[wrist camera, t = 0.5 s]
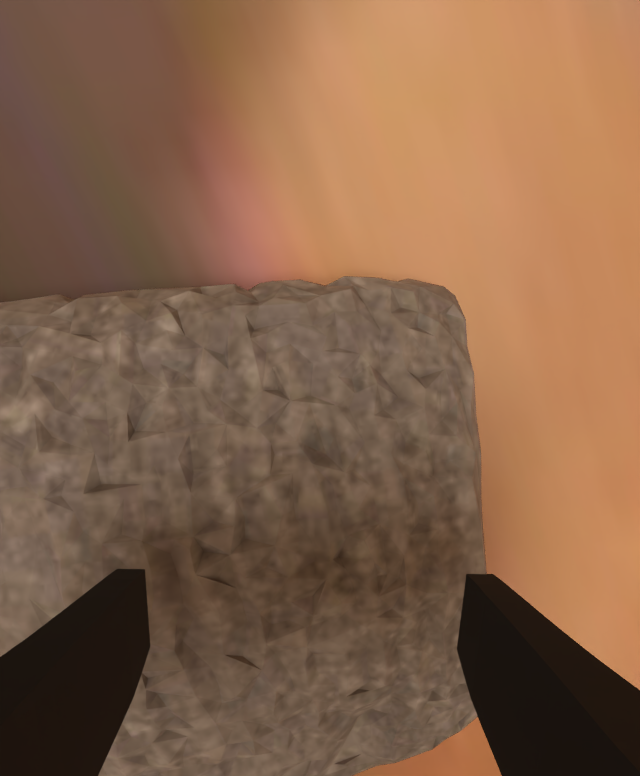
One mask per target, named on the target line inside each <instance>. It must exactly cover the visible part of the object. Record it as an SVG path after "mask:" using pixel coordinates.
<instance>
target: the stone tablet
mask: <svg viewBox="0 0 640 776" xmlns="http://www.w3.org/2000/svg"><path fill="white" fill-rule="evenodd" d="M116 569H145V577H146V591H147V605H148V619H149V634H150V649H149V652H148V656H147V659H146V662H145V665H144V668H143V671H142V674H141V677H140V680H139V683H138V686H137V689H136V692H135V695H134V697H133V700H132V702H131V704H130V707H129V709H128V711H127V713H126V716H125V718H124V720H123V722H122V724H121V727H120V729H119V731H118V733H117V735H116V738H115V740H114V742H113V744H112V746H111V749H110V751H109V753H108V755H107V757H106V760H105V762H104V764H103V766H102V768H101V770H100V773H99V775H98V776H352V775H355V774H357V773H360V772H362V771H365V770H367V769H370V768H372V767H375V766H378V765H385V764H391V763H396V762H399V761H402V760H404V759H407V758H410V757H413V756H415V755H418V754H421V753H423V752H426V751H429V750H432V749H433V748H435V747H436V746H437V745H439V744H440V743H441V742H442V741H444V740H445V739H447V738H449V737H451V736H452V735H454V734H456V733H458V732H459V731H461V730H462V729H463V728H465V727H466V726H467V725H468V724H469V723H471V722H472V721H473V720H474V719H475V718H477V717H478V716H477V713H476V711H475V708H474V705H473V703H472V700H471V697H470V694H469V691H468V687H467V684H466V681H465V677H464V674H463V670H462V667H461V663H460V659H459V656H458V652H457V643H458V636H459V628H460V620H461V612H462V604H463V597H464V589H465V581H466V574H487V573H486V561H485V548H484V536H483V521H482V502H481V449H480V441H479V433H478V425H477V418H476V402H475V384H474V372H473V368H472V364H471V360H470V356H469V352H468V348H467V334H466V319H465V317H464V315H463V313H462V310H461V308H460V306H459V304H458V301H457V299H456V297H455V295H454V294H452V293H451V292H450V291H449V290H447V289H446V288H445V287H443V286H439V285H434V284H430V283H426V282H421V281H417V280H412V279H405V280H402V281H399V282H395V281H391V280H386V279H381V278H373V277H348V276H344V277H342V278H340V279H338V280H336V281H334V282H332V283H331V284H329V285H327V286H323V285H319V284H315V283H311V282H307V281H303V280H286V281H272V282H265V283H259V284H258V285H256V286H255V287H253V288H252V289H250V290H249V291H247V290H245V289H243V288H241V287H239V286H237V285H235V284H227V285H216V286H205V287H187V288H163V289H140V290H126V291H116V292H107V293H98V294H89V295H83V296H81V297H79V298H77V299H75V300H73V299H71V298H68V297H65V296H63V295H60V294H56V295H50V296H44V297H39V298H32V299H25V300H18V301H11V302H0V657H1V656H2V655H4V654H5V653H6V652H8V651H9V650H11V649H12V648H13V647H15V646H16V645H18V644H19V643H20V642H22V641H23V640H25V639H26V638H27V637H29V636H30V635H31V634H33V633H34V632H35V631H37V630H38V629H39V628H41V627H42V626H43V625H45V624H46V623H47V622H48V621H50V620H51V619H52V618H54V617H55V616H56V615H58V614H59V613H60V612H62V611H63V610H64V609H65V608H67V607H68V606H69V605H71V604H72V603H73V602H74V601H76V600H77V599H78V598H80V597H81V596H82V595H83V594H85V593H86V592H87V591H89V590H90V589H91V588H92V587H94V586H95V585H96V584H97V583H99V582H100V581H101V580H103V579H104V578H105V577H107V576H108V575H109V574H111V573H112V572H113V571H115V570H116Z"/></svg>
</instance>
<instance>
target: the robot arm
mask: <svg viewBox="0 0 640 776" xmlns="http://www.w3.org/2000/svg"><path fill="white" fill-rule="evenodd" d="M149 649H150V634H149V619H148V605H147V591H146V577H145V569H116V570H115V571H113V572H112V573H111V574H109V575H108V576H107V577H105V578H104V579H103V580H101V581H100V582H99V583H97V584H96V585H95V586H94V587H92V588H91V589H90V590H89V591H87V592H86V593H85V594H83V595H82V596H81V597H80V598H78V599H77V600H76V601H74V602H73V603H72V604H71V605H69V606H68V607H67V608H65V609H64V610H63V611H62V612H60V613H59V614H58V615H56V616H55V617H54V618H52V619H51V620H50V621H48V622H47V623H46V624H45V625H43V626H42V627H41V628H39V629H38V630H37V631H35V632H34V633H33V634H31V635H30V636H29V637H27V638H26V639H25V640H23V641H22V642H20V643H19V644H18V645H16V646H15V647H13V648H12V649H11V650H9V651H8V652H6V653H5V654H4V655H2V656H1V657H0V776H98V775H99V773H100V770H101V768H102V766H103V764H104V762H105V760H106V757H107V755H108V753H109V751H110V749H111V746H112V744H113V742H114V740H115V738H116V735H117V733H118V731H119V729H120V727H121V724H122V722H123V720H124V718H125V716H126V713H127V711H128V709H129V707H130V704H131V702H132V700H133V697H134V695H135V692H136V689H137V686H138V683H139V680H140V677H141V674H142V671H143V668H144V665H145V662H146V659H147V656H148V652H149ZM457 652H458V656H459V659H460V663H461V667H462V670H463V674H464V677H465V681H466V684H467V687H468V691H469V694H470V697H471V700H472V703H473V705H474V708H475V711H476V713H477V716H478V718H479V721H480V723H481V725H482V728H483V730H484V733H485V735H486V738H487V740H488V743H489V745H490V748H491V750H492V752H493V755H494V757H495V760H496V762H497V765H498V767H499V769H500V772H501V774H502V776H640V690H638V689H637V688H636V687H634V686H633V685H632V684H630V683H629V682H628V681H626V680H625V679H624V678H622V677H621V676H620V675H618V674H617V673H616V672H614V671H613V670H612V669H610V668H609V667H607V666H606V665H605V664H603V663H602V662H601V661H600V660H598V659H597V658H596V657H594V656H593V655H592V654H591V653H589V652H588V651H587V650H585V649H584V648H583V647H582V646H580V645H579V644H578V643H577V642H575V641H574V640H573V639H572V638H570V637H569V636H568V635H567V634H565V633H564V632H563V631H562V630H560V629H559V628H558V627H557V626H556V625H554V624H553V623H552V622H551V621H549V620H548V619H547V618H546V617H545V616H543V615H542V614H541V613H540V612H539V611H537V610H536V609H535V608H534V607H533V606H531V605H530V604H529V603H528V602H527V601H526V600H524V599H523V598H522V597H521V596H520V595H518V594H517V593H516V592H515V591H514V590H512V589H511V588H510V587H509V586H507V585H506V584H505V583H504V582H503V581H501V580H500V579H499V578H497V577H496V576H495V575H493V574H466V581H465V589H464V597H463V604H462V612H461V620H460V628H459V636H458V643H457Z"/></svg>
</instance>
